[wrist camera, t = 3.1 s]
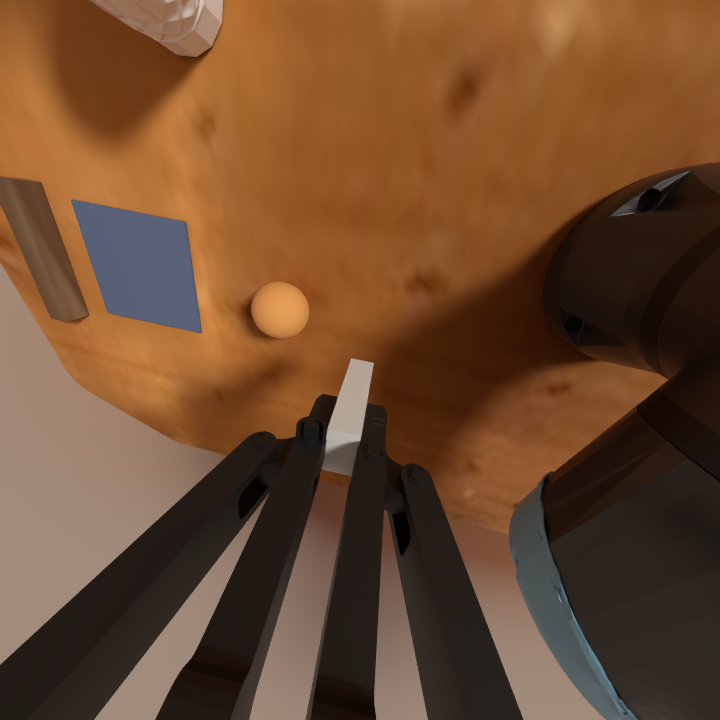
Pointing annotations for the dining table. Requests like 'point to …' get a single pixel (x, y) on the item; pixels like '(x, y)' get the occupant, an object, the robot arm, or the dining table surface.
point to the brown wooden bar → (42, 247)
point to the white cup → (171, 21)
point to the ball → (280, 310)
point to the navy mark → (141, 265)
